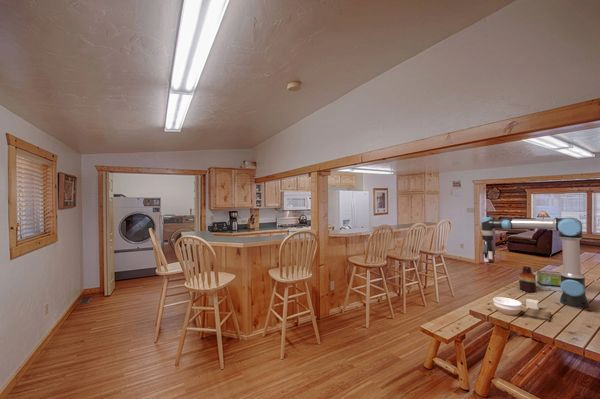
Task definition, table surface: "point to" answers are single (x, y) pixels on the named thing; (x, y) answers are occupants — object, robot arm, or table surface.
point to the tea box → (549, 280)
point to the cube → (532, 304)
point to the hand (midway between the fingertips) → (488, 260)
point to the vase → (527, 280)
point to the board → (538, 314)
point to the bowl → (507, 305)
